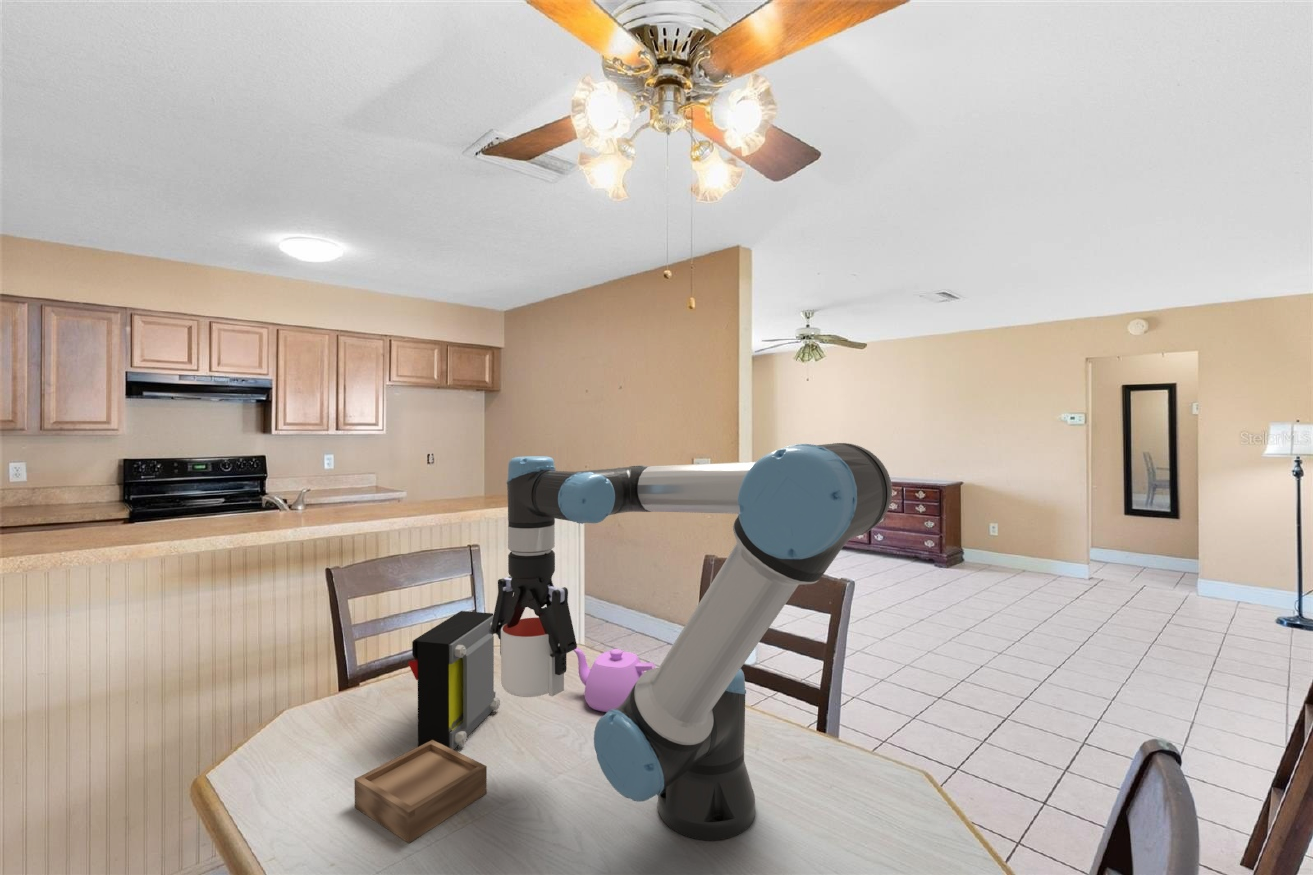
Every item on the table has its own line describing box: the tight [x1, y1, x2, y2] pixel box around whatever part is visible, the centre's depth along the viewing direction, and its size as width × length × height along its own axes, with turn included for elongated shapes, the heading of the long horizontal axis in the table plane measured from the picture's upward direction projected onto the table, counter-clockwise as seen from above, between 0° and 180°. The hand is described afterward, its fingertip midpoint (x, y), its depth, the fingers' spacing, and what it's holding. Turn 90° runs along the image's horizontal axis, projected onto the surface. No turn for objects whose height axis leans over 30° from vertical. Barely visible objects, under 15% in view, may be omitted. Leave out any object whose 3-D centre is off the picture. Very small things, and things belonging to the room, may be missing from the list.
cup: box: [500, 616, 560, 698], centre depth 100 cm, size 10×10×10 cm
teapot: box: [573, 647, 656, 713], centre depth 130 cm, size 13×20×11 cm, turn 73°
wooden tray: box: [354, 740, 488, 844], centre depth 96 cm, size 14×14×4 cm
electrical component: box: [408, 610, 501, 750], centre depth 119 cm, size 18×10×20 cm, turn 168°
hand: (532, 684), depth 100 cm, fingers closed on cup, 10 cm apart
